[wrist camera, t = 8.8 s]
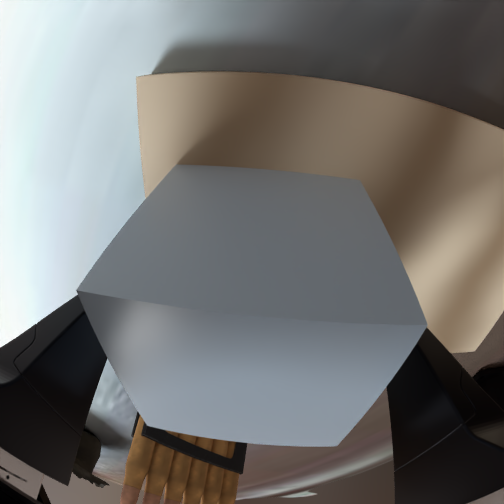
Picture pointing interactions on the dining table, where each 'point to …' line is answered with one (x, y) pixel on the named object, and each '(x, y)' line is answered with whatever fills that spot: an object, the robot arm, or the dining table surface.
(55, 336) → the robot arm
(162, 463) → the ammunition clip
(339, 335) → the pale grey cube
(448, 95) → the dining table surface
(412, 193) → the stub board
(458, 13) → the dining table surface
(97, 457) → the stone bowl
